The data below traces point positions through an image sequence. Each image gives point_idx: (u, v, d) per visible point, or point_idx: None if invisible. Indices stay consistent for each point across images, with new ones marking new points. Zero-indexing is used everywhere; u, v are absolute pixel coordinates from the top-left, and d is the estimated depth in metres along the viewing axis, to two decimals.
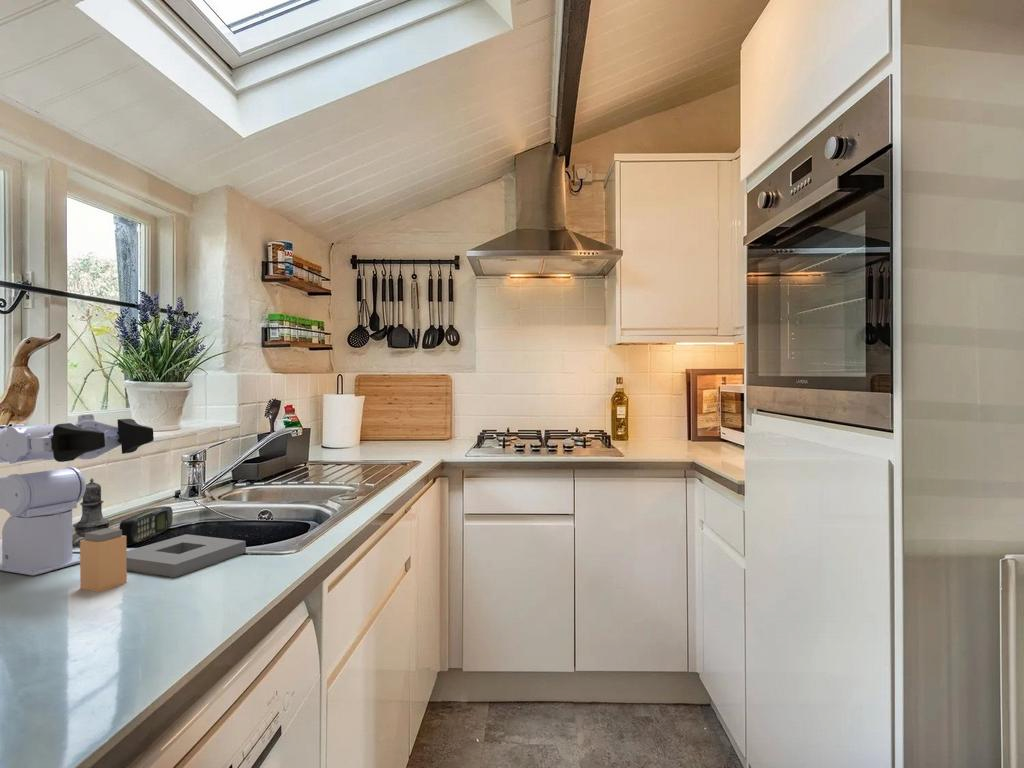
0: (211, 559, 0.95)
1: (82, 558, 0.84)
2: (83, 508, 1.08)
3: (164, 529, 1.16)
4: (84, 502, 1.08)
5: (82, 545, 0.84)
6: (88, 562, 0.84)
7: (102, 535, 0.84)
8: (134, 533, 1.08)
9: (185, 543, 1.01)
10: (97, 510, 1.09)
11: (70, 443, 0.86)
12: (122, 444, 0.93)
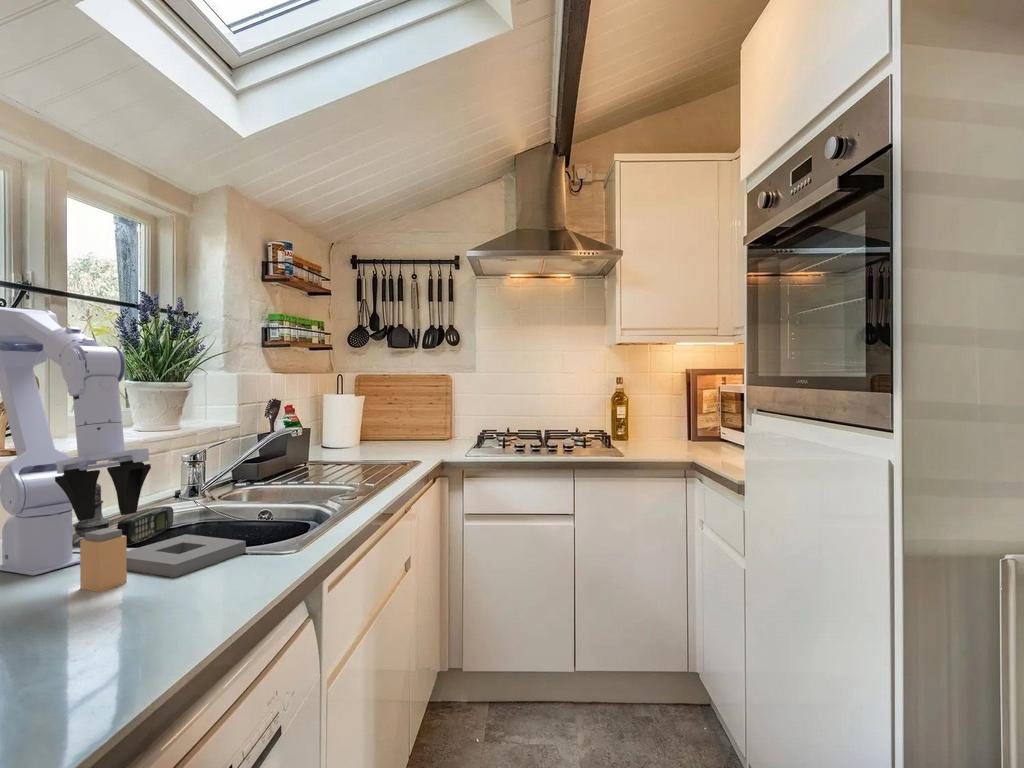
0: (211, 559, 0.95)
1: (82, 558, 0.84)
2: None
3: (164, 529, 1.16)
4: None
5: (82, 545, 0.84)
6: (88, 562, 0.84)
7: (102, 535, 0.84)
8: (131, 533, 1.08)
9: (185, 543, 1.01)
10: (97, 510, 1.09)
11: None
12: None
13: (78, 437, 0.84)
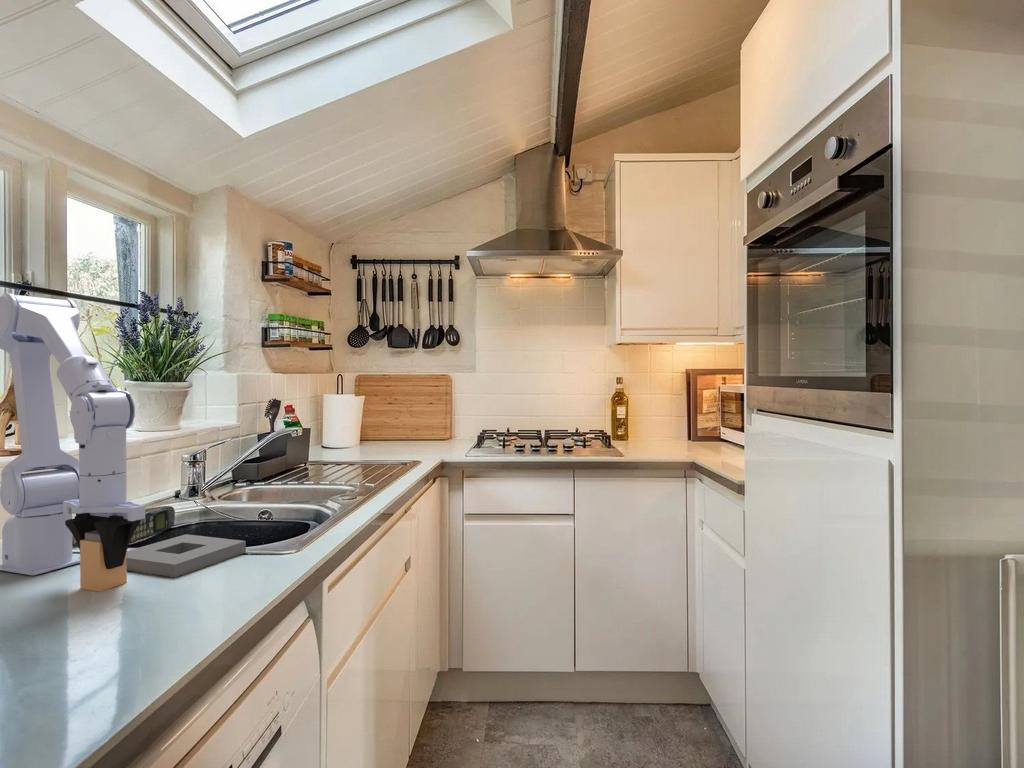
0: (211, 559, 0.95)
1: (82, 558, 0.84)
2: None
3: (164, 529, 1.17)
4: None
5: (82, 545, 0.84)
6: (88, 562, 0.84)
7: None
8: None
9: (185, 543, 1.01)
10: None
11: None
12: None
13: (80, 486, 0.83)
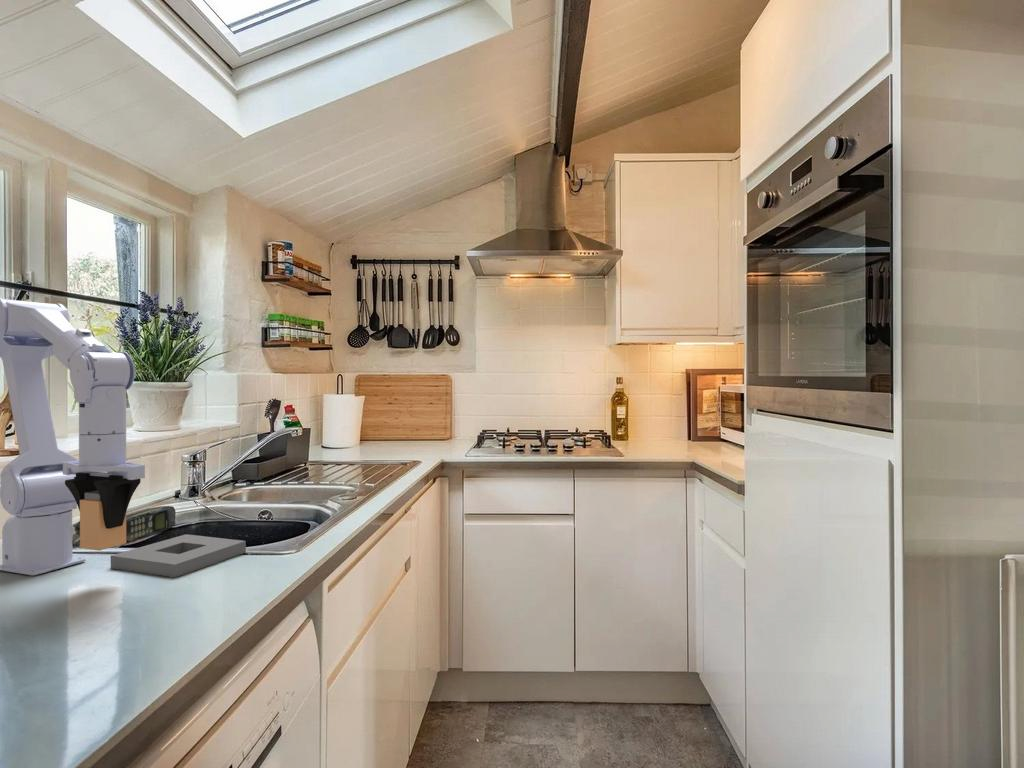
0: (211, 559, 0.95)
1: (81, 517, 0.84)
2: None
3: (164, 529, 1.17)
4: None
5: (82, 504, 0.84)
6: (88, 521, 0.84)
7: None
8: (126, 533, 1.08)
9: (185, 543, 1.01)
10: None
11: None
12: None
13: (79, 445, 0.83)
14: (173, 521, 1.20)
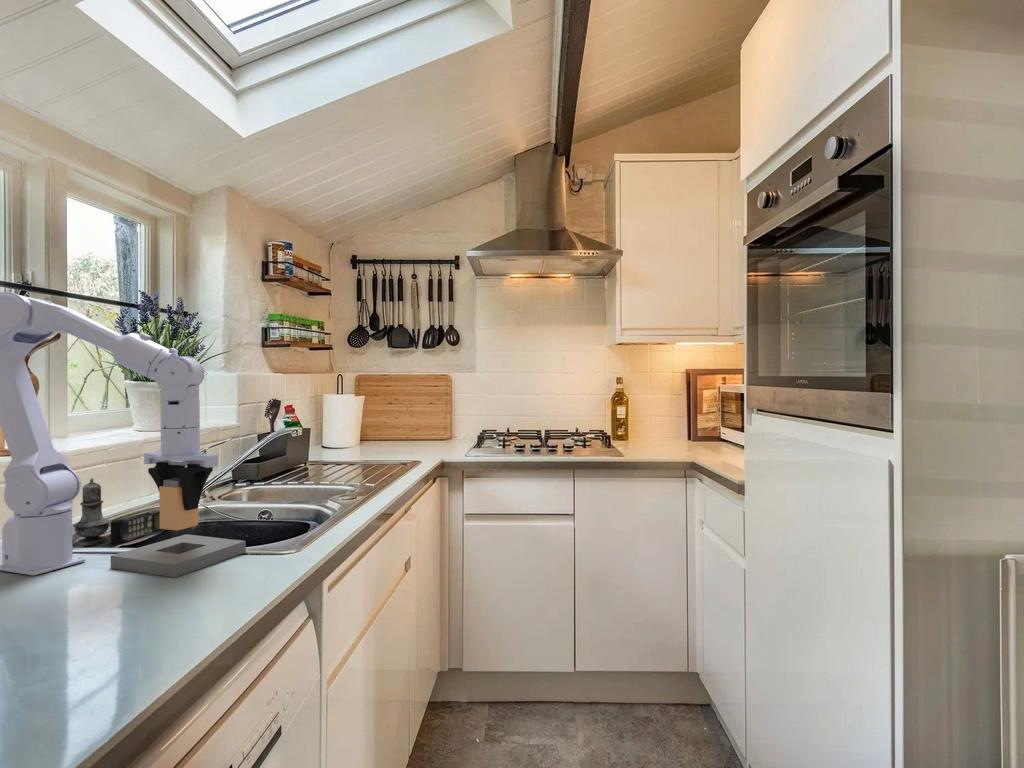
0: (211, 559, 0.95)
1: (161, 502, 0.96)
2: (83, 508, 1.08)
3: (164, 529, 1.17)
4: (84, 502, 1.08)
5: (161, 490, 0.96)
6: (167, 505, 0.95)
7: (179, 481, 0.96)
8: (123, 532, 1.09)
9: (185, 543, 1.01)
10: (97, 510, 1.09)
11: None
12: None
13: (162, 438, 0.95)
14: None
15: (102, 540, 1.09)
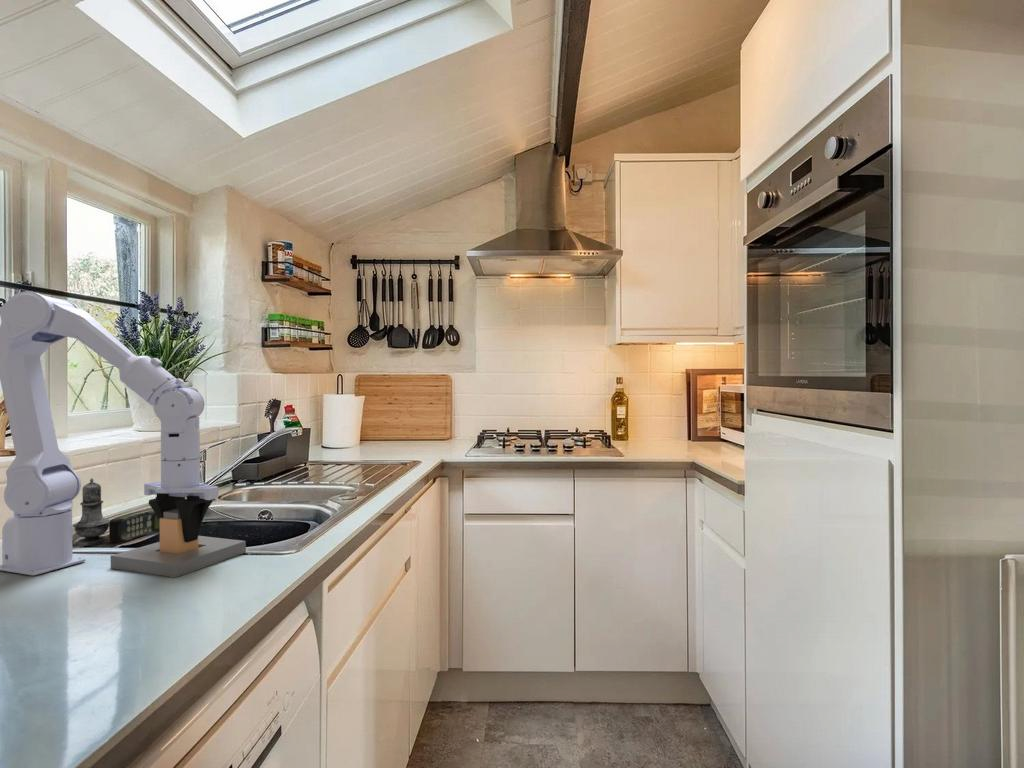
0: (211, 559, 0.95)
1: (161, 534, 0.96)
2: (83, 508, 1.08)
3: None
4: (84, 502, 1.08)
5: (161, 522, 0.96)
6: (167, 537, 0.95)
7: (179, 513, 0.96)
8: (122, 532, 1.09)
9: None
10: (97, 510, 1.09)
11: None
12: None
13: (162, 470, 0.95)
14: None
15: (102, 540, 1.09)
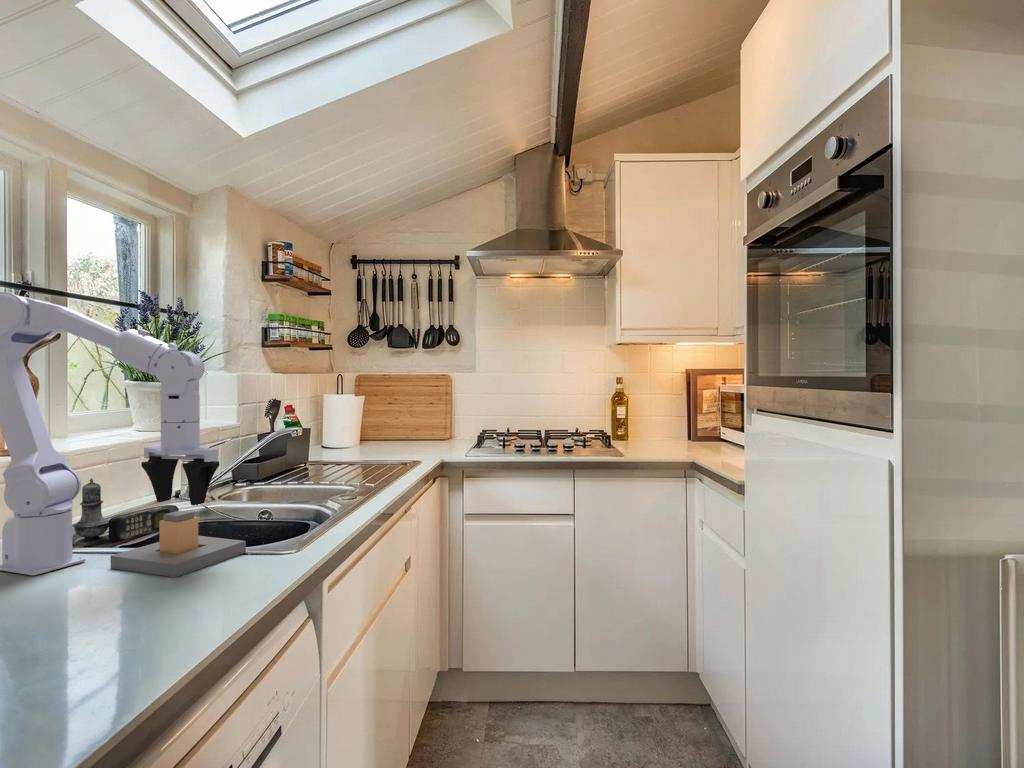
0: (211, 559, 0.95)
1: (161, 536, 0.96)
2: (83, 508, 1.08)
3: None
4: (84, 502, 1.08)
5: (161, 525, 0.96)
6: (167, 540, 0.95)
7: (179, 516, 0.96)
8: (120, 531, 1.10)
9: None
10: (97, 510, 1.09)
11: None
12: None
13: (162, 432, 0.95)
14: None
15: (102, 540, 1.09)
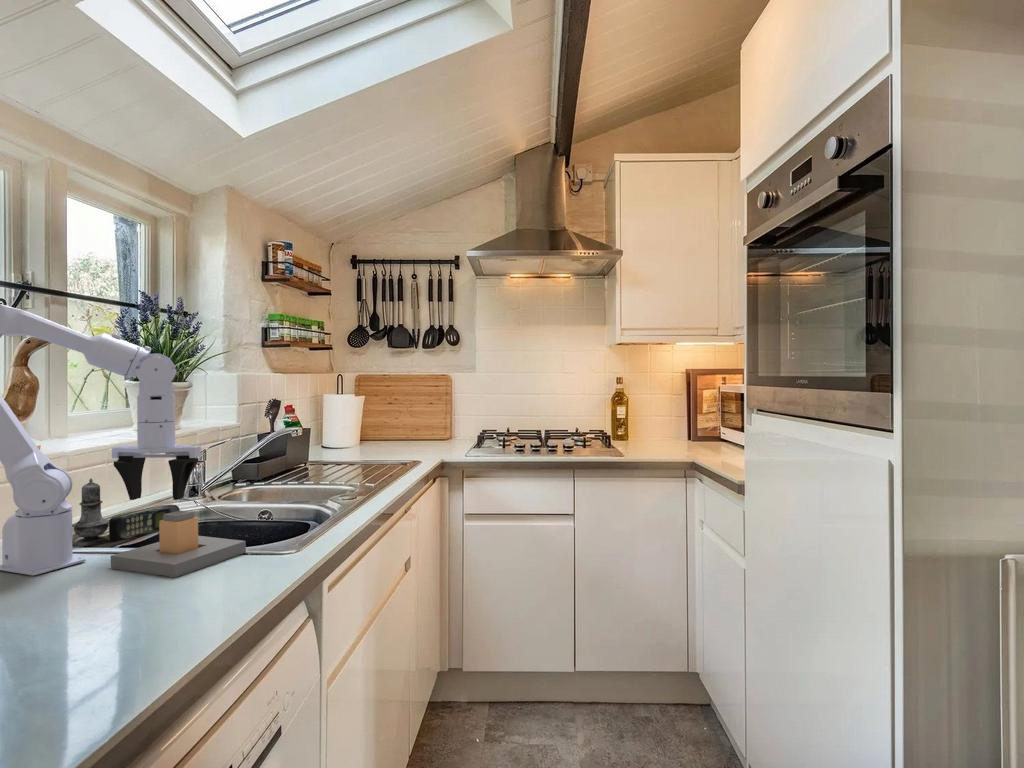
0: (211, 559, 0.95)
1: (161, 536, 0.96)
2: (82, 508, 1.08)
3: None
4: (83, 502, 1.08)
5: (161, 525, 0.96)
6: (167, 540, 0.95)
7: (179, 516, 0.96)
8: (121, 530, 1.10)
9: None
10: (96, 510, 1.09)
11: None
12: None
13: (141, 432, 0.99)
14: None
15: (101, 540, 1.09)
